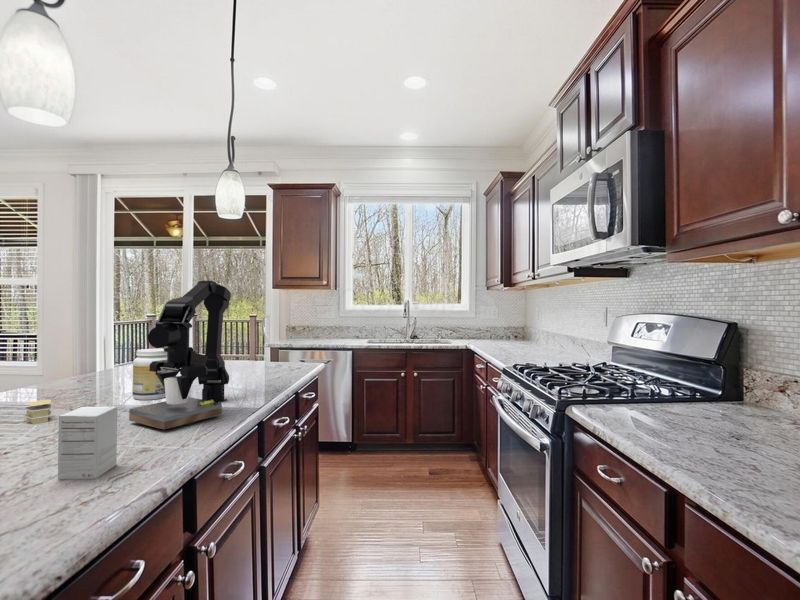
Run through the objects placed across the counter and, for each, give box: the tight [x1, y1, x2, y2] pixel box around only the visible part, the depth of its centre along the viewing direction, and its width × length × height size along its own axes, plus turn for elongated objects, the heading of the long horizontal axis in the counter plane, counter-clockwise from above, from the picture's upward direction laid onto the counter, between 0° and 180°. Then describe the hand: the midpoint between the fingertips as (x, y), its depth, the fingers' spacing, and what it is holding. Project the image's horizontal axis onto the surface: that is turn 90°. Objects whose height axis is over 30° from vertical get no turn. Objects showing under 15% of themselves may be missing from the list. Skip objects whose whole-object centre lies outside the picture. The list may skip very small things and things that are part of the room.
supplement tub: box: [131, 348, 167, 401], centre depth 153 cm, size 12×12×17 cm
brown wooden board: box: [128, 407, 223, 430], centre depth 124 cm, size 18×16×3 cm
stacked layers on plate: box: [24, 399, 52, 425], centre depth 122 cm, size 10×9×6 cm
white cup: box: [164, 375, 190, 404], centre depth 124 cm, size 7×7×7 cm
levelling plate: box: [128, 396, 223, 422], centre depth 124 cm, size 18×16×2 cm
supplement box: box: [57, 406, 118, 480], centre depth 87 cm, size 7×7×13 cm
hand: (177, 397), depth 124 cm, fingers closed on white cup, 6 cm apart
